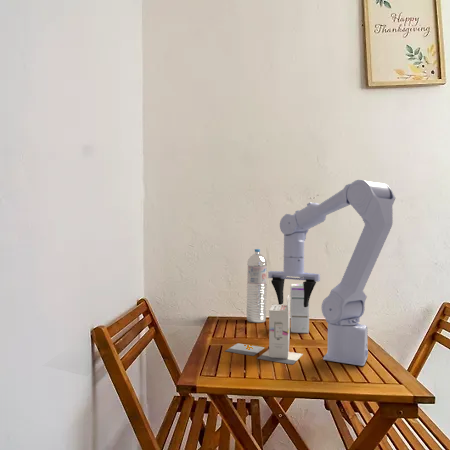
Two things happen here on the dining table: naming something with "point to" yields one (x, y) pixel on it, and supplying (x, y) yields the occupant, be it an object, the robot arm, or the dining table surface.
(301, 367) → the dining table surface
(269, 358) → the cream label card
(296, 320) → the syrup box
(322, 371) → the dining table surface
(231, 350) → the grey-blue label card
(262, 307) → the water bottle
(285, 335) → the ink cartridge box
